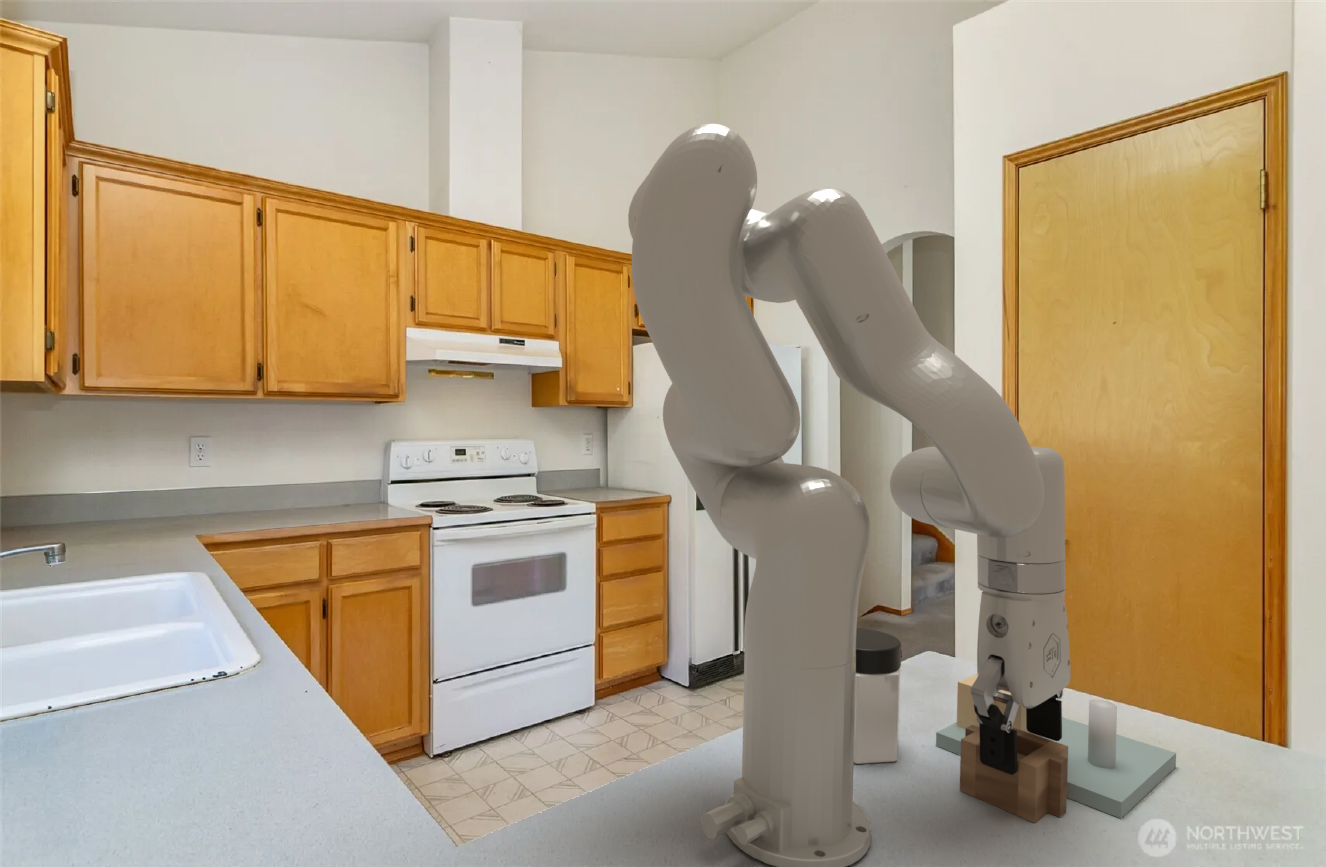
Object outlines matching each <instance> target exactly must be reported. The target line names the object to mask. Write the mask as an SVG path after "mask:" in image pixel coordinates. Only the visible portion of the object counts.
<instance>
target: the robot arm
mask: <svg viewBox="0 0 1326 867" xmlns="http://www.w3.org/2000/svg"><path fill="white" fill-rule="evenodd" d="M757 190H758V172H757V165H756V162H755V159H754V156H753V153H752V151H751V149H750V147H749V146H748V144H747V143H746V141H745V140H744V139H743V137H741V135H740V134H739V133H738V132H736V131H735V130H733V129H732V128H731V127H729V126H726V125H723V124H719V123H704V124H699V125H696V126H693V127H691V128H689V129H687V130H686V131H684V132H682V133H681V134H679V136H677V137H675V139H673V141H672V142H670V144H669V145H667V147H666V148H665V150H664V151H663V152H662V154H661V155H660V156H659V158H658V159H657V160H656V162H655V163H654V164H653V167H652V168H651V169H650V171H649V173H648V175H647V176H646V177H645V178H644V179H643V181H642V182H641V184H640V185H639V186H638V188H637V189H636V191H635V193H634V195H633V197H632V200H631V202H630V205H629V208H628V209H629V210H628V214H627V215H628V220H627V221H628V228H629V233H630V236H631V238H632V245H631V276H632V277H631V278H632V285H633V287H632V288H633V293H634V297H635V301H636V305H637V306H636V307H637V309H638V312H639V315H640V317H641V321H642V322H643V324H644V327H645V330H646V331H647V333H648V337H649V338H650V340H651V343H652V344H653V346H654V349H655V351H656V353H657V356H658V357H659V360H660V362H661V364H662V366H663V368H664V370H665V372H666V374H667V375H668V377H669V379H670V382H671V385H670V387H669V388H668V390H667V392H666V393H665V394H666V395H665V397H664V401H663V407H662V422H663V427H664V430H665V434H666V437H667V439H668V443H669V446H670V447H671V449H672V451H673V453H674V455H675V458H676V459H677V461H678V462H679V465H680V466H681V468H682V471H684V474H685V476H686V478H687V479H688V481H689V483H690V485H691V486H692V488H693V490H694V492H695V494H696V495H697V497H698V499H699V501H700V503H701V504H702V506H703V508H704V509H705V512H706V513H707V514H708V516H709V519H710V520H711V522H712V524H713V525H714V526H715V528H716V530H717V531H718V533H719V534H720V536H721V537H722V538H723V539H724V540H725V541H726V543H728V544H729V545H730V547H732V548H734V549H735V550H737V551H738V552H740V553H741V554H744V555H745V556H747V557H749V558H752V559H754V560H755V568H754V572H753V576H752V581H751V585H750V589H749V593H748V597H747V602H746V609H745V618H744V629H743V630H744V633H743V634H744V638H743V641H744V642H743V648H744V657H743V658H744V660H743V661H744V662H743V664H744V666H743V703H742V706H743V712H742V751H741V752H742V755H741V756H742V758H741V759H742V760H741V763H742V764H741V777H739V778H737V779H735V780H734V781H733V792H732V793H731V794H730V795H729V796H728V798H727V799H726V800H725V803H724V805H720V806H717V807H715V808H712V809H710V810H709V811H707V812H704V813H702V815H701V816H700V825H701V829H702V832H704V835H705V836H706V837H707V838H708V839H710V840H711V839H712V840H713V839H715V838H717V837H719V836H722V835H725V833H726V835H727V836H728V838H729V839H730V840H731V841H732V843H733V844H735V845H736V847H737V848H739V849H740V850H741V851H742V852H743V853H744V854H747V855H749V856H750V857H752V858H754V859H756V860H757V861H760V862H762V863H765V864H767V865H771V866H773V867H848V866H852V865H854V863H856V862H857V861H859V860H861V859H862V858H863V857H864V856H865V854H866V853H867V852H868V850H869V849H870V846H871V841H872V840H871V839H872V826H871V822H870V819H869V818H868V815H867V813H866V812H865V811H864V810H863V809H862V808H861V806H860V805H859V804H857V803H856V802H855V801H854V800H853V798H854V767H855V766H854V764H855V763H854V725H855V683H856V629H857V628H858V626H857V625H858V611H859V610H858V608H859V601H860V600H859V599H860V593H861V592H860V590H861V585H862V579H863V574H864V570H865V567H866V566H865V565H866V561H867V559H868V558H867V557H868V552H869V546H870V541H871V522H870V516H869V515H870V514H869V512H868V508H867V506H866V503H865V501H864V500H863V498H862V496H861V494H860V492H858V490H857V489H856V488H855V487H854V486H853V485H852V484H851V483H850V482H849V481H848V480H846V479H845V478H844V477H842V476H841V475H838V474H837V473H835V472H833V471H830V470H827V469H826V468H822V467H818V466H812V465H807V464H805V465H804V464H796V463H788V462H785V461H784V460H783V456H785V455H786V454H787V453H788V452H789V451H790V450H791V448H792V447H793V446H794V445H795V442H796V440H797V438H798V435H799V434H800V433H799V432H800V429H801V415H800V414H801V413H800V412H801V411H800V408H799V403H798V401H797V398H796V395H795V394H794V391H793V389H792V387H791V386H790V383H789V382H788V379H787V378H786V376H785V374H784V372H783V370H782V368H781V367H780V364H779V363H778V361H777V359H776V357H775V355H774V353H773V351H772V350H771V347H770V346H769V344H768V341H767V340H766V337H765V336H764V334H763V332H762V330H761V328H760V326H759V325H758V322H757V321H756V318H755V316H754V314H753V312H752V310H751V308H750V305H749V303H748V300H747V298H746V297H748V298H752V299H755V300H758V301H759V300H760V301H763V302H768V303H776V304H781V303H782V304H783V303H789V302H792V301H793V302H794V301H795V302H796V303H797V305H798V307H799V309H800V310H801V312H802V314H803V316H804V317H805V319H806V321H807V323H808V325H809V327H810V328H811V330H812V332H813V334H814V336H815V337H816V339H817V341H818V343H819V344H820V345H819V346H821V349H822V350H823V352H824V354H825V356H826V358H827V359H828V361H829V363H830V366H831V367H832V369H833V371H834V372H835V374H836V376H837V377H838V379H839V380H840V381H841V382H843V383H844V384H845V385H847V386H848V387H850V388H851V389H853V390H854V391H856V392H857V393H859V394H860V395H862V396H864V397H866V398H868V399H871V400H872V401H875V402H876V403H879V404H881V405H883V406H884V407H887V408H889V409H890V410H892V411H894V412H896V413H897V414H899V415H901V416H902V417H903V418H905V419H906V420H908V422H910V423H911V424H913V425H914V426H915V427H916V428H917V429H918V430H919V431H920V432H921V433H923V434H924V435H925V436H926V437H927V439H928V440H929V441H930V442H931V443H932V444H933V445H934V446H927V447H922V448H918V449H916V450H913V451H912V452H909V453H908V454H906V455H905V456H903V457H902V458H901V459H900V460H899V461H898V462H897V463H896V465H895V466H894V468H893V469H892V472H891V476H890V479H889V488H890V494H891V498H892V499H893V501H894V503H895V504H896V506H897V507H898V509H899V510H900V511H901V512H903V513H904V514H905V515H906V516H908V517H910V518H911V519H914V520H915V521H918V522H920V523H924V524H928V525H932V526H936V527H940V528H946V529H950V530H956V531H957V530H958V531H962V532H966V533H971V534H976V548H977V549H976V550H977V556H976V558H977V588H978V589H979V590H980V591H981V595H980V596H981V597H980V603H979V605H980V606H979V615H978V626H977V649H976V672H977V673H976V674H977V676H978V677H977V679H976V680H975V682H974V684H973V685H972V687H971V695H972V698H973V701H974V710H975V713H976V714H977V722H978V723H979V729H980V761H981V763H982V764H984V765H987V766H989V767H992V768H995V769H997V770H1000V771H1003V772H1005V773H1008V774H1011V775H1013V774H1015V773H1016V772H1017V730H1014V729H1012V727H1013V723H1014V720H1015V717H1016V713H1017V710H1018V707H1019V704H1022V706H1023V707H1024V708H1026V728H1027V730H1028V732H1030V733H1033V734H1036V735H1039V736H1042V737H1045V738H1048V739H1051V740H1054V741H1059V740H1060V739H1061V738H1062V717H1063V711H1062V709H1063V704H1062V702H1063V701H1062V700H1061V699H1062V698H1063V695H1064V689H1065V688H1066V687H1067V686H1068V685H1069V684H1070V681H1071V676H1072V675H1071V655H1070V653H1071V652H1070V638H1069V624H1068V615H1067V613H1068V612H1067V608H1066V601H1065V596H1066V529H1065V528H1066V524H1065V523H1066V522H1065V521H1066V517H1065V515H1066V513H1065V512H1066V508H1065V507H1066V506H1065V505H1066V503H1065V499H1066V498H1065V497H1066V496H1065V490H1066V489H1065V483H1066V482H1065V462H1064V459H1063V457H1062V455H1061V454H1060V452H1058V451H1057V450H1055V449H1053V448H1049V447H1042V446H1031V445H1030V443H1029V442H1030V441H1029V440H1028V439H1027V436H1026V435H1025V433H1024V431H1023V427H1021V425H1020V423H1019V421H1018V418H1017V417H1016V415H1015V414H1014V412H1013V410H1012V408H1011V407H1010V406H1009V405H1008V403H1007V402H1006V401H1005V399H1004V398H1003V397H1002V396H1001V395H1000V394H999V393H998V392H997V390H996V389H995V388H993V386H992V385H990V383H989V382H987V380H985V379H984V378H983V377H982V376H981V375H979V374H978V373H977V372H976V371H975V370H973V368H971V367H970V366H969V365H968V364H967V363H966V362H965V361H963V360H962V359H961V358H960V357H958V356H957V355H956V354H955V353H954V352H953V351H951V350H950V349H949V348H947V347H946V346H944V345H943V344H941V343H940V342H939V341H937V340H936V339H935V337H933V336H932V335H931V334H930V332H929V331H928V330H927V329H926V328H925V326H924V324H923V322H922V321H921V319H920V316H919V314H918V313H917V310H916V309H915V306H914V304H913V302H912V301H911V299H910V297H909V295H908V292H907V290H906V289H905V287H904V286H903V283H902V282H901V280H900V277H899V276H898V274H897V271H896V270H895V268H894V266H893V264H892V262H891V261H890V259H889V256H888V254H887V251H886V250H885V248H884V246H883V245H882V242H881V241H880V238H879V237H878V234H877V233H876V231H875V229H874V227H873V225H872V224H871V222H870V220H869V218H868V216H867V214H866V213H865V210H864V209H863V207H862V206H861V205H860V203H859V202H858V200H856V199H855V198H854V197H853V196H852V194H850V193H848V192H846V191H845V190H842V189H839V188H833V187H820V188H814V189H812V190H809V191H806V192H804V193H802V194H799V195H798V196H796V197H794V198H793V199H790V200H788V201H787V202H785V203H783V204H782V205H781V206H779V207H777V208H776V209H774V210H773V211H771V212H766V211H762V210H760V209H755V208H753V206H754V203H755V200H756V197H757V196H756V195H757V192H758V191H757ZM1000 690H1005V691H1008V692H1010V693H1011V695H1008V694H1005V693H1001V692H998V691H1000ZM994 701H997V702H1001V703H1004V704H1007V705H1006V708H1005V711H1004V715H1003V714H1002V712H1001V711H1000V709H999V708H998V706H996V705H994V704H993V702H994Z"/></svg>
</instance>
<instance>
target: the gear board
mask: <svg viewBox="0 0 1326 867" xmlns="http://www.w3.org/2000/svg"><path fill="white" fill-rule="evenodd" d="M977 677H978V676H977V673H975V674H973V675H971V676H968V677H966V678H964V679H961V680H959V681H957V696H956V697H957V698H956V722H953V723H951V724H950V725H949V726H946V727H944V728H942V729H940V730H938V731H936V732H935V733H936V734H935V735H936V736H935V738H936V739H935V741H936V742H935V746H936V747H938V748H941V749H943V750H946V751H949V752H951V753H954V754H956V755H959V756H961V739H962V738H964V737H965V729H966V728H967V727H969V726H971V725H974V726H977V727H979V723H978V722H977V714H976V713H975V710H974V701H973V698H972V695H971V687H972V685H973V684H974V682H975V680H976V679H977ZM998 692H1001V693H1005V694H1008V695H1011V693H1010V692H1008V691H1005V690H1000V691H998ZM993 704H994V705H996V706H998V708H999V709H1000V711H1001V712H1002V714H1003V715H1004V711H1005V708H1006V705H1007V704H1004V703H1001V702H997V701H994V702H993ZM1088 704H1089V705H1088V724H1085V723H1081V722H1079V721H1076V720H1072V719H1069V718H1065V717H1063V716H1062V738H1061V739H1060V740H1059V741H1054V740H1051V739H1049V740H1051V741H1054V742H1057V743H1060V744H1063V745H1066V746H1068V777H1067V798H1068V799H1070V800H1073V801H1075V802H1078V803H1081V804H1082V805H1086V806H1088V807H1091V808H1092V809H1095V810H1099V811H1100V812H1103V813H1106V814H1108V815H1111V816H1113V817H1115V818H1118V819H1121V820H1122V819H1123V818H1124V817H1125V816H1126V815H1127V814H1128V813H1129V812H1130V811H1131V810H1133V808H1134V807H1135V806H1136V805H1137V804H1139V802H1141V801H1142V800H1143V799H1144V798H1145V797H1146V796H1147V795H1149V793H1150V792H1151V791H1152V790H1153V789H1154V788H1155V787H1156V786H1157V785H1158V784H1159V783H1161V782H1162V781H1163V780H1164V779H1165V778H1166V777H1167V776H1168V775H1169V774H1170V773H1171V772H1172V771H1173V770H1174V769H1175V768H1176V766H1177V765H1176V764H1177V752H1174V751H1171V750H1169V749H1166V748H1161V747H1158V746H1155V745H1153V744H1150V743H1149V744H1148V743H1146V742H1142V741H1140V740H1136V739H1133V738H1130V737H1127V736H1123V735H1120V734H1118V733H1117V727H1118V726H1117V724H1118V723H1117V722H1118V721H1117V720H1118V719H1117V718H1118V706H1117V705H1116V704H1114V703H1113V702H1111V701H1110V702H1109V701H1108V700H1103V699H1090V700H1088ZM1013 728H1016V729H1019V730H1022V731H1025V732H1028V730H1027V728H1026V708H1024V707H1023V706H1022V704H1019V707H1018V710H1017V713H1016V717H1015V720H1014V723H1013ZM1028 733H1030V732H1028ZM1031 734H1033V733H1031ZM1034 735H1036V734H1034ZM1037 736H1039V735H1037ZM1040 737H1042V736H1040ZM1043 738H1045V737H1043ZM1046 739H1048V738H1046Z"/></svg>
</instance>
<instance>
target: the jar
mask: <svg viewBox="0 0 1326 867" xmlns="http://www.w3.org/2000/svg"><path fill="white" fill-rule="evenodd" d="M902 651H903V650H902V641H901V640H900V639H898V638H897V637H896V636H894V635H892V634H890V633H887V632H883V631H878V630H874V629H869V628H862V627H861V628H858V627H857V629H856V683H855V725H854V764H856V765H861V764H877V763H878V764H879V763H891V762H896V761H897V760H898V751H899V735H900V734H899V732H900V731H899V730H900V728H899V727H900V725H899V724H900V720H899V719H900V697H901V696H900V694H901V693H900V690H901V688H900V687H901V685H900V684H901V667H902V658H903V652H902Z"/></svg>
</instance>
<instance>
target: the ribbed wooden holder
mask: <svg viewBox="0 0 1326 867" xmlns="http://www.w3.org/2000/svg"><path fill="white" fill-rule="evenodd" d="M1012 729H1014V730H1017V772H1016V773H1015V774H1013V775H1011V774H1008V773H1005V772H1003V771H1000V770H997V769H995V768H992V767H989V766H987V765H984V764H982V763H981V761H980V729H979V727H977V726H974V725H971V726H969V727H967V728H966V729H965V737H964V738H962V739H961V755H960V757H959V758H960V759H959V760H960V761H959V764H960V766H959V792H960V791H961V792H962V793H964V794H967V795H970V796H972V797H974V798H976V799H979V800H981V801H983V802H985V803H988V804H990V805H993V806H994V807H998V808H999V809H1001V810H1004V811H1006V812H1009V813H1011V814H1013V815H1016V816H1018V817H1020V818H1023V819H1024V820H1027V821H1029V822H1031V823H1033V824H1035V823H1037V822H1038V821H1039V820H1041V819H1042V818H1043V817H1045V816H1046V815H1047V814H1050V815H1052V816H1053V815H1054V816H1056V817H1058V818H1061V817H1062V816H1064V815H1065V814H1066V813H1067V777H1068V746H1066V745H1063V744H1060V743H1057V742H1054V741H1051V740H1049V739H1046V738H1043V737H1040V736H1037V735H1034V734H1031V733H1028V732H1025V731H1022V730H1019V729H1016V728H1013V727H1012Z"/></svg>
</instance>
